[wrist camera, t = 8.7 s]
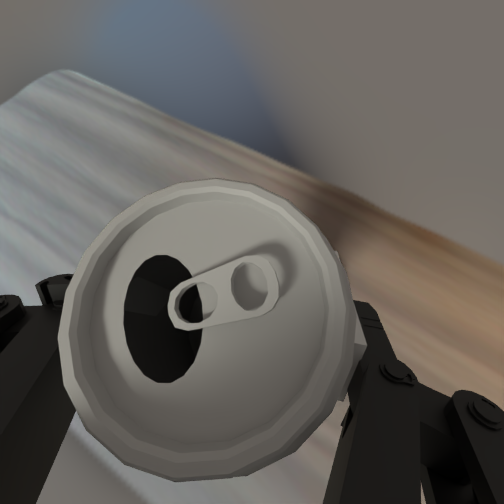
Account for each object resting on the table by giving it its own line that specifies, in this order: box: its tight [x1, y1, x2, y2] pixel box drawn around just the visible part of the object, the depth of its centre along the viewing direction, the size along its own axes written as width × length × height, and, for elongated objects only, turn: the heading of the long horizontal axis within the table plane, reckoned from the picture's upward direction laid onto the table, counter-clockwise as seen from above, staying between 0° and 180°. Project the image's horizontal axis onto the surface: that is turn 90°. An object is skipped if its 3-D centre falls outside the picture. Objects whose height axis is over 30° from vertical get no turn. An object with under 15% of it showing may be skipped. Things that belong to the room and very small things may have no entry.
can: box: [58, 178, 357, 482], centre depth 11 cm, size 8×8×12 cm
